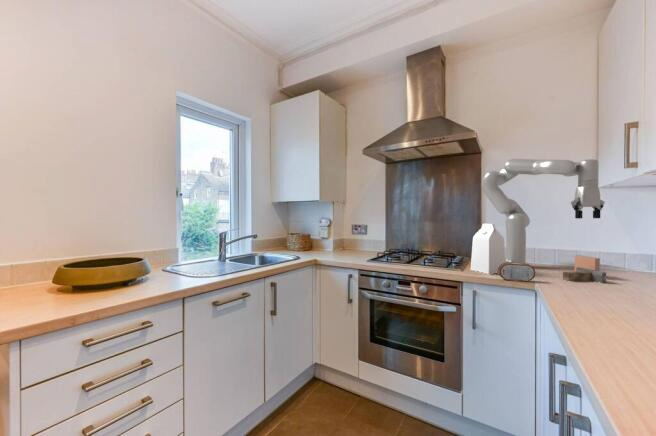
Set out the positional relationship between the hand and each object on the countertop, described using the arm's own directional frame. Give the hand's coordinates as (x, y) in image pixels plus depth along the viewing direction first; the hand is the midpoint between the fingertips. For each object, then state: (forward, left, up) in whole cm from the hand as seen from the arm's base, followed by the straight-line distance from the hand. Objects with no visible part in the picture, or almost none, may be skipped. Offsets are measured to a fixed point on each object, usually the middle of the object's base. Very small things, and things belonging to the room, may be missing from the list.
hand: (587, 218), depth 143 cm
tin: (-43, -5, -30) cm, 53 cm away
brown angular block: (-14, -8, -29) cm, 34 cm away
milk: (-43, +15, -30) cm, 54 cm away
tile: (-1, -1, -29) cm, 29 cm away
